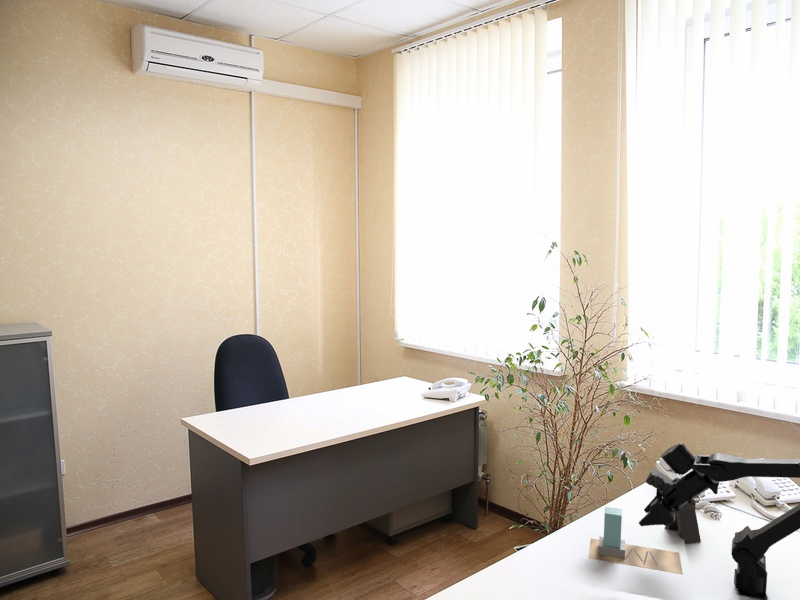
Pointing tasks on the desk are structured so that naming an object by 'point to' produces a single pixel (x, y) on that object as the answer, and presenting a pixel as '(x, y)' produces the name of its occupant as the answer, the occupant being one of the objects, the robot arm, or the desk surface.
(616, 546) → the block
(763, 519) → the desk surface
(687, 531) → the phone stand
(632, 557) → the oak board
